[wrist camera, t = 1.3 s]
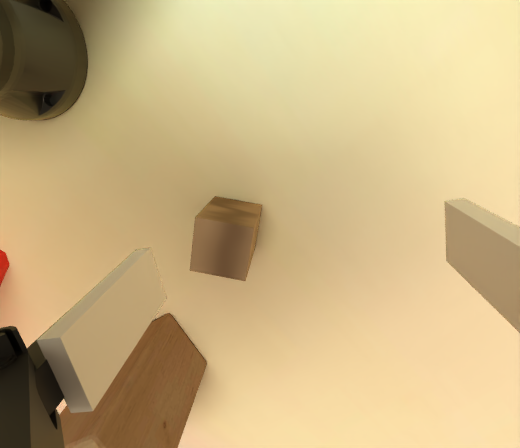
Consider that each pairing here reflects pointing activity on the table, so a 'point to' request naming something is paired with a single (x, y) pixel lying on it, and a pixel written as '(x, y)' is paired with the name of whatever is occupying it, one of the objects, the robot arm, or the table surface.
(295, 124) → the table surface
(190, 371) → the wooden block
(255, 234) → the walnut block
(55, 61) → the robot arm
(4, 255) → the book
